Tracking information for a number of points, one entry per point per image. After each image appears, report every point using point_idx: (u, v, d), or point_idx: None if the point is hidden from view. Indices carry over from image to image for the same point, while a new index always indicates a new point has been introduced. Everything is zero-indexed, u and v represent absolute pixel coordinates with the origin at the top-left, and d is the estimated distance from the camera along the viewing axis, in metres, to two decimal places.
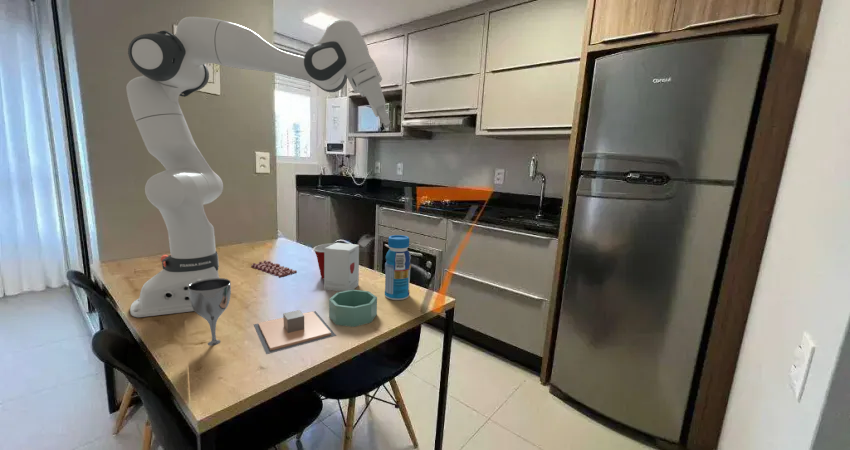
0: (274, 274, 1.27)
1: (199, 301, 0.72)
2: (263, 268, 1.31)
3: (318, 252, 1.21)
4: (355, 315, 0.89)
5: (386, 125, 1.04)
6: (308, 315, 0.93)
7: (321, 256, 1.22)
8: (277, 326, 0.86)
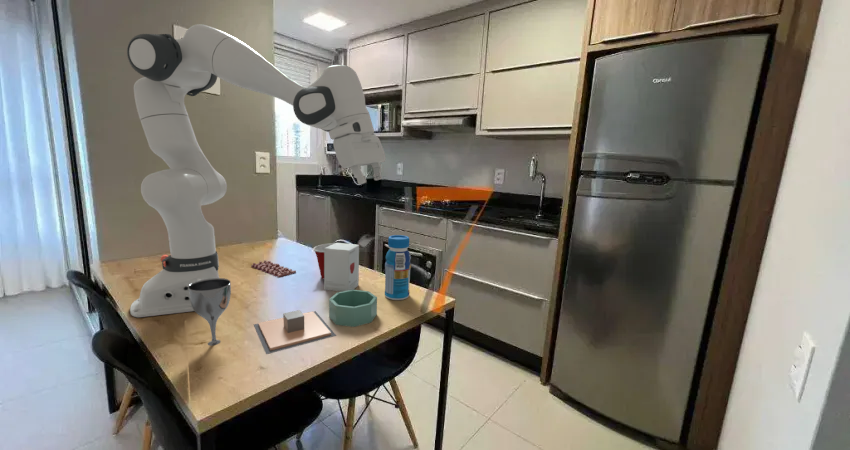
0: (273, 274, 1.27)
1: (199, 301, 0.72)
2: (263, 268, 1.31)
3: (318, 252, 1.21)
4: (355, 315, 0.89)
5: (376, 178, 0.95)
6: (308, 315, 0.93)
7: (321, 256, 1.22)
8: (277, 326, 0.86)
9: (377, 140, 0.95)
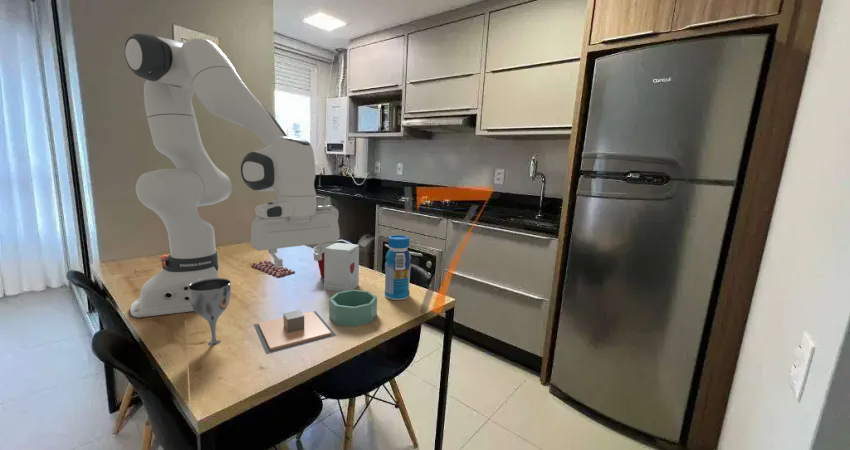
0: None
1: (199, 301, 0.72)
2: (262, 268, 1.31)
3: None
4: (355, 315, 0.89)
5: (315, 258, 0.86)
6: (308, 315, 0.93)
7: None
8: (277, 326, 0.86)
9: (329, 218, 0.84)
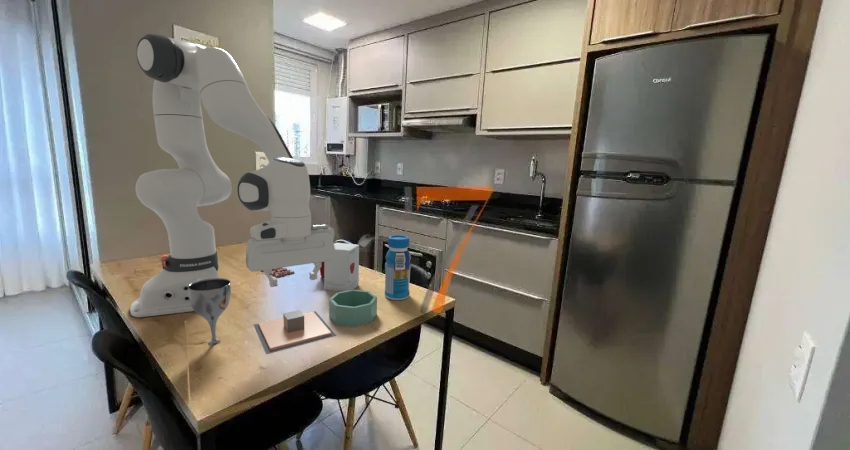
0: (271, 274, 1.27)
1: (199, 301, 0.72)
2: None
3: None
4: (355, 315, 0.89)
5: (310, 277, 0.86)
6: (308, 315, 0.93)
7: None
8: (277, 326, 0.86)
9: (324, 238, 0.84)
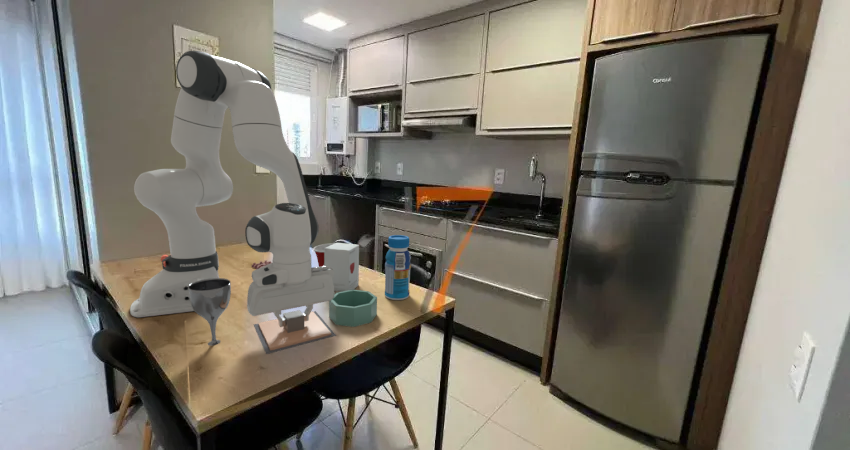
0: None
1: (199, 301, 0.72)
2: None
3: (318, 252, 1.21)
4: (355, 315, 0.89)
5: None
6: None
7: (321, 256, 1.22)
8: (277, 326, 0.86)
9: (324, 280, 0.86)
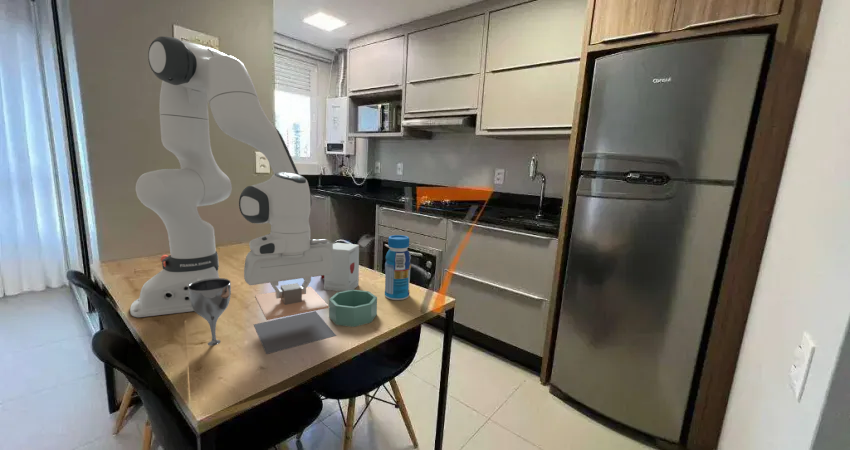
0: None
1: (199, 301, 0.72)
2: None
3: None
4: (355, 315, 0.89)
5: None
6: (306, 289, 0.92)
7: None
8: (274, 298, 0.85)
9: (322, 253, 0.85)
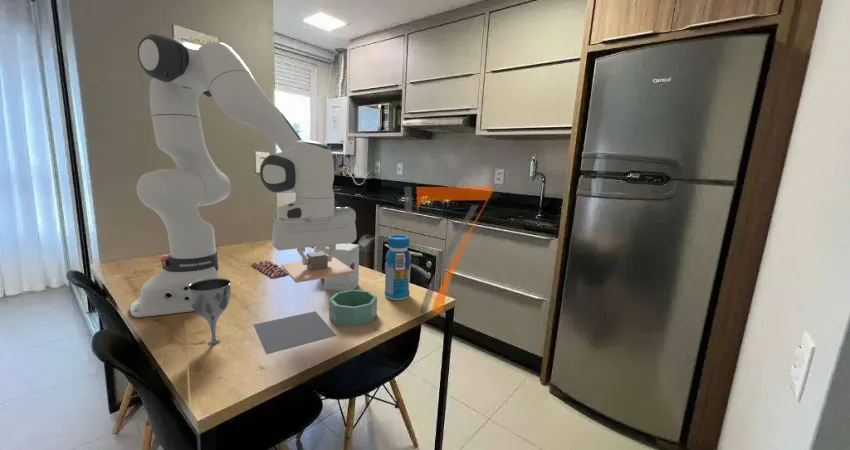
0: (267, 275, 1.26)
1: (199, 301, 0.72)
2: (260, 268, 1.31)
3: None
4: (355, 315, 0.89)
5: None
6: None
7: None
8: (300, 266, 0.86)
9: (346, 220, 0.86)
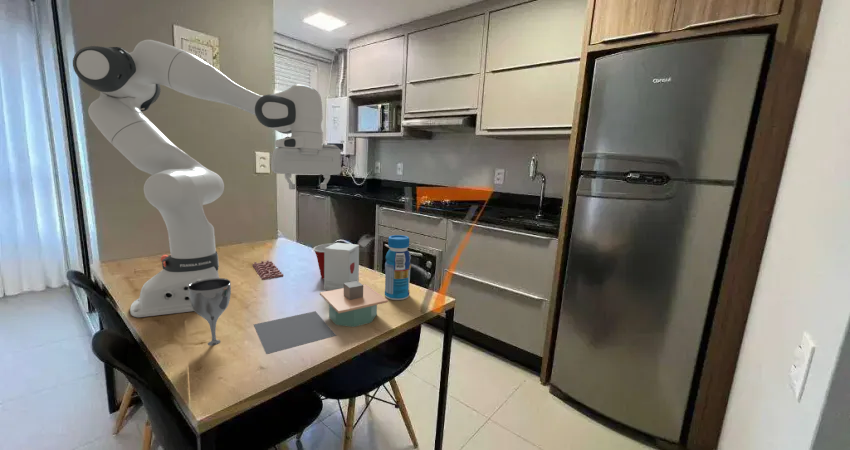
0: None
1: (199, 301, 0.72)
2: (257, 268, 1.31)
3: (318, 252, 1.21)
4: (355, 315, 0.89)
5: (321, 187, 1.07)
6: None
7: (321, 256, 1.21)
8: (338, 295, 0.94)
9: (332, 154, 1.05)
